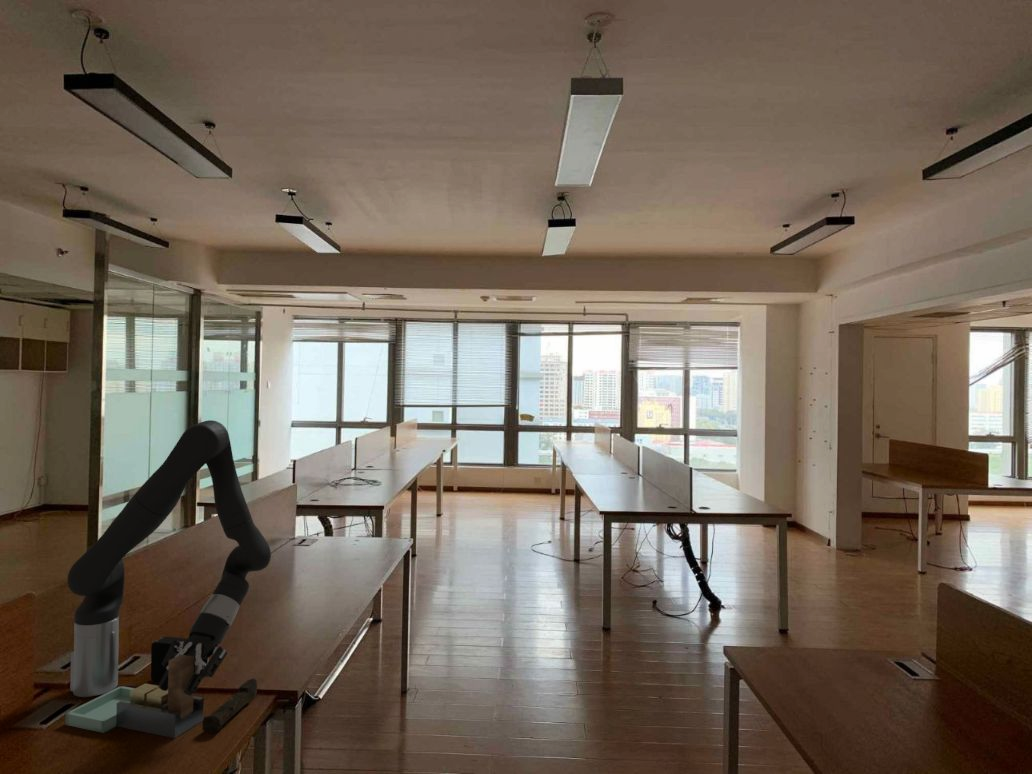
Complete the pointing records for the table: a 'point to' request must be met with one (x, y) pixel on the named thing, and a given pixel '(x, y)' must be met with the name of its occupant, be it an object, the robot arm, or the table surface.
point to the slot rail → (158, 718)
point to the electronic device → (161, 656)
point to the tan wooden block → (179, 685)
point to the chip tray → (98, 711)
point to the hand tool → (230, 707)
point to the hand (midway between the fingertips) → (174, 691)
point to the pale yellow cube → (157, 698)
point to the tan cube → (141, 694)
